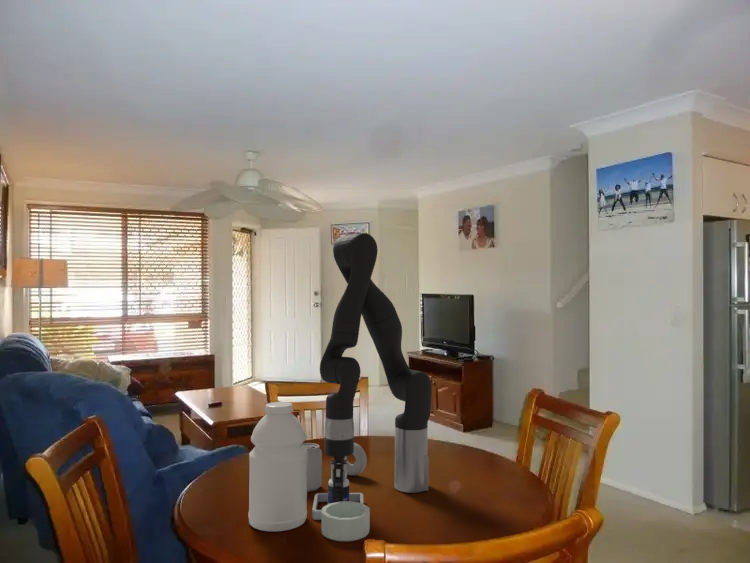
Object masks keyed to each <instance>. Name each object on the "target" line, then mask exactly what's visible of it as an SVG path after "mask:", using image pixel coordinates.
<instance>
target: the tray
mask: <svg viewBox="0 0 750 563" xmlns="http://www.w3.org/2000/svg"><path fill="white" fill-rule="evenodd" d="M349 501H353V502H358V503H363V504H364V493H362V492H349ZM323 502H324V503H328V492H317V493H315V494H314V498H313V503H312V509H311V519H313V520H315V521H317V520H321V521H322V509H318V505H319V503H323Z"/></svg>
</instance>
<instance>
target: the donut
mask: <svg viewBox="0 0 750 563" xmlns="http://www.w3.org/2000/svg"><path fill="white" fill-rule="evenodd" d="M352 455H353V456H354V458H355V461H354V463H350V462H349V461H348V458H347V457H348V456H345V457H344V460H347V468H346V471H347V476H352V477H353V476H357V475H360V474H362V472H364V470H365V468H366V466H367V462H368V461H367V459H368V458H367V454H366V451H365V450H364V448H363V447H362V446H361V445H360V444H358V443H357V442H354V453H353V454H352Z"/></svg>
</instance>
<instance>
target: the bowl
mask: <svg viewBox="0 0 750 563" xmlns="http://www.w3.org/2000/svg"><path fill="white" fill-rule="evenodd" d="M321 510H322V520H321V526H320V527H321V528H320V530H321V534H322V536H323V537H325V538H327V539H328V540H331V541H337V542H353V541H354V542H355V541H358V540H361V539H364V538H365V537H368V535H369V534H370V528H371V526H370V522H371V521H370V520H371V519H370V518H371V517H370V516H371V512H370V511H371V509H370V507H369V506H368V505H366V504H365V503H364V502H363V503H360V502H353V501H340V502H335V503H330V504H328V503H327V504H326V505H324V506H323V507H322V508H321Z"/></svg>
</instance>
